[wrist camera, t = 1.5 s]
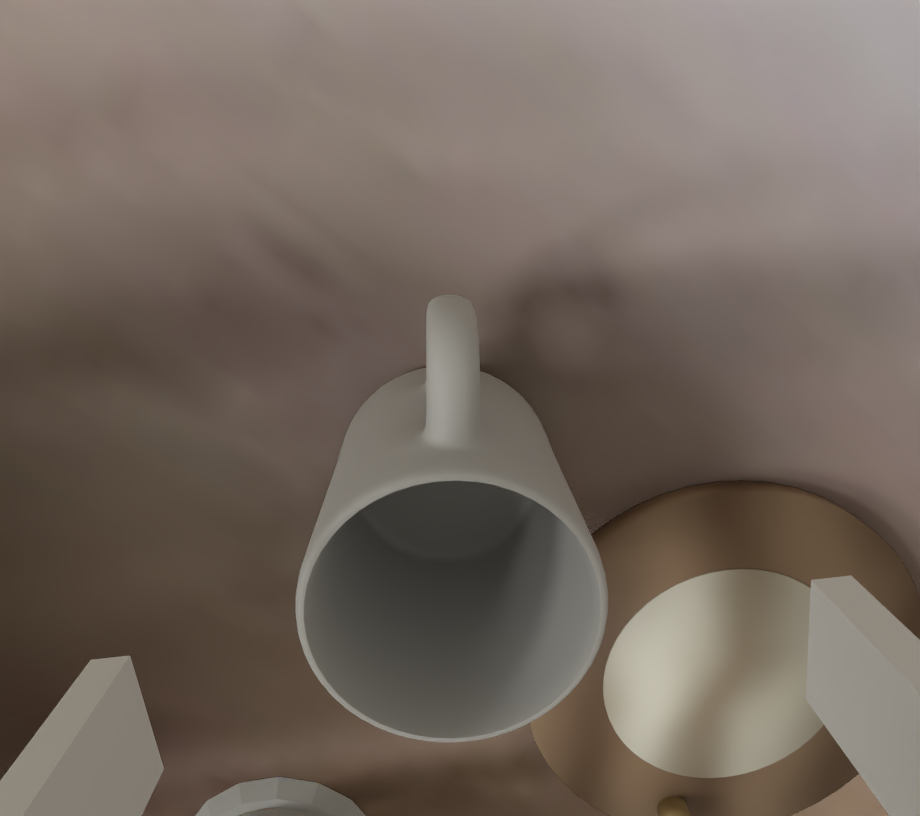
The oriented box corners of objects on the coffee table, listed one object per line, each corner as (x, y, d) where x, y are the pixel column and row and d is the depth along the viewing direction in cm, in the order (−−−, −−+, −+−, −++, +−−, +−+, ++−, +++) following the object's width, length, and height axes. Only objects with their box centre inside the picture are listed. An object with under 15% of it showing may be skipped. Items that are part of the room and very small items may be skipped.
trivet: (536, 832, 35) (545, 884, 32) (503, 506, 30) (510, 537, 27) (893, 790, 35) (930, 837, 32) (925, 457, 30) (972, 482, 27)
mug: (544, 553, 30) (602, 744, 20) (346, 556, 30) (300, 752, 20) (556, 273, 27) (636, 327, 16) (333, 273, 26) (267, 328, 16)
